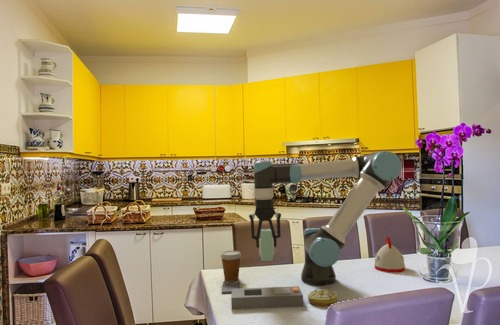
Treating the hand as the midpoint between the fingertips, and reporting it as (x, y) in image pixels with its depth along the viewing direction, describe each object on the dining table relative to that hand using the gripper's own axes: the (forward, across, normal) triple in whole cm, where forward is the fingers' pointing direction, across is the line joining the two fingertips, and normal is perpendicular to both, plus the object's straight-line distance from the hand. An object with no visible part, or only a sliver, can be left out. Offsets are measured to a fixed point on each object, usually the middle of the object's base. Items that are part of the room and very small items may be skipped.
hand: (266, 255), depth 148 cm
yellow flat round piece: (+15, -19, +14) cm, 28 cm away
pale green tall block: (+2, 0, 0) cm, 2 cm away
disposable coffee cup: (+15, +16, -18) cm, 28 cm away
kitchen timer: (+16, -61, -26) cm, 68 cm away
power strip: (+15, +2, +13) cm, 20 cm away
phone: (+15, +16, -5) cm, 22 cm away
